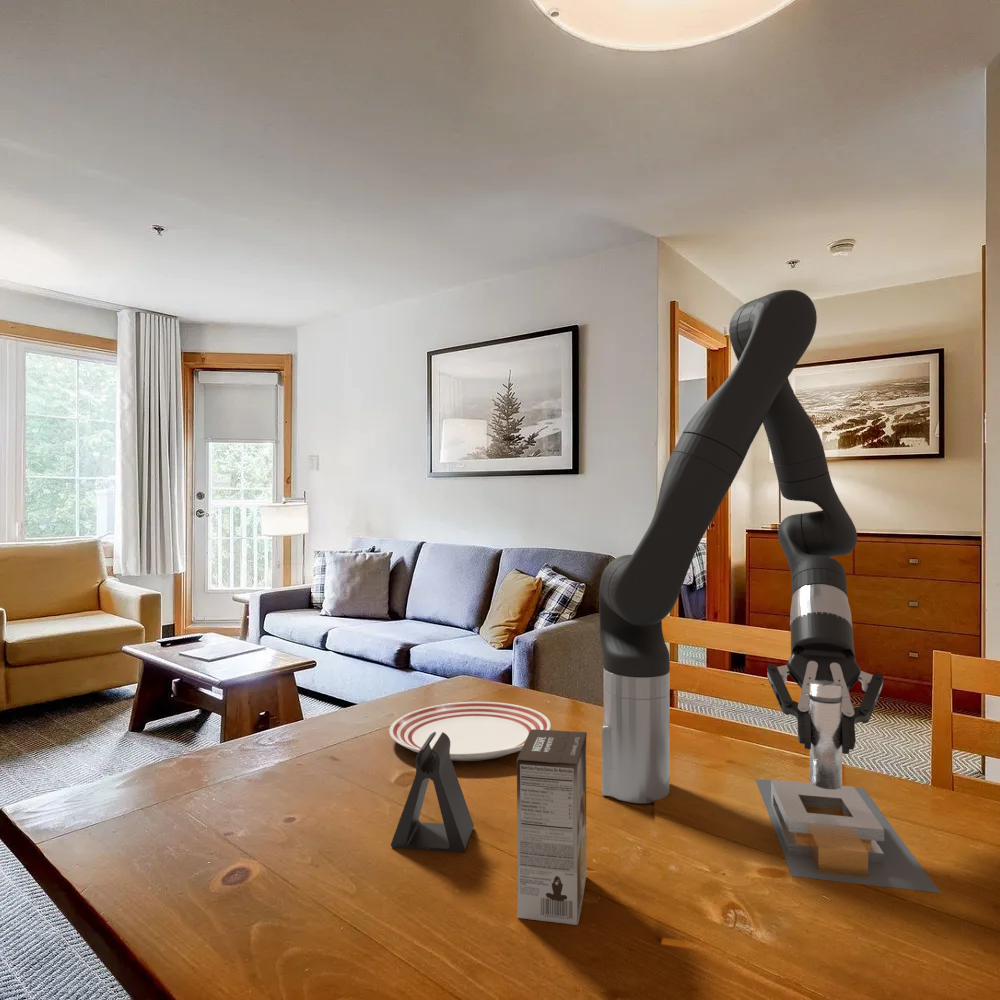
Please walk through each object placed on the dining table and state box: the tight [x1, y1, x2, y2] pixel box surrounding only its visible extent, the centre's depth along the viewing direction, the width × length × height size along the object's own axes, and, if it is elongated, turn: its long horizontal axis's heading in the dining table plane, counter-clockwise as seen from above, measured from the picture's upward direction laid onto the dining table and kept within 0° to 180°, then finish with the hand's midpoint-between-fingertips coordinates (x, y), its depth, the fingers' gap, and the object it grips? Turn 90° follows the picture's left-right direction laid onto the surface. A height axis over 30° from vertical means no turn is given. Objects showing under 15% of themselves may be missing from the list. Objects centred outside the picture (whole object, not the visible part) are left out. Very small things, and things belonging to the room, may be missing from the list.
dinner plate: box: [388, 701, 552, 762], centre depth 116 cm, size 28×27×3 cm
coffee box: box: [516, 729, 588, 926], centre depth 71 cm, size 9×6×16 cm
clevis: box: [770, 779, 884, 877], centre depth 81 cm, size 10×14×4 cm
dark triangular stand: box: [390, 732, 475, 854], centre depth 83 cm, size 9×6×12 cm, turn 82°
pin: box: [809, 680, 843, 789], centre depth 82 cm, size 4×4×12 cm
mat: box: [755, 778, 941, 894], centre depth 85 cm, size 14×26×1 cm, turn 168°
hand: (826, 747), depth 80 cm, fingers closed on pin, 3 cm apart
